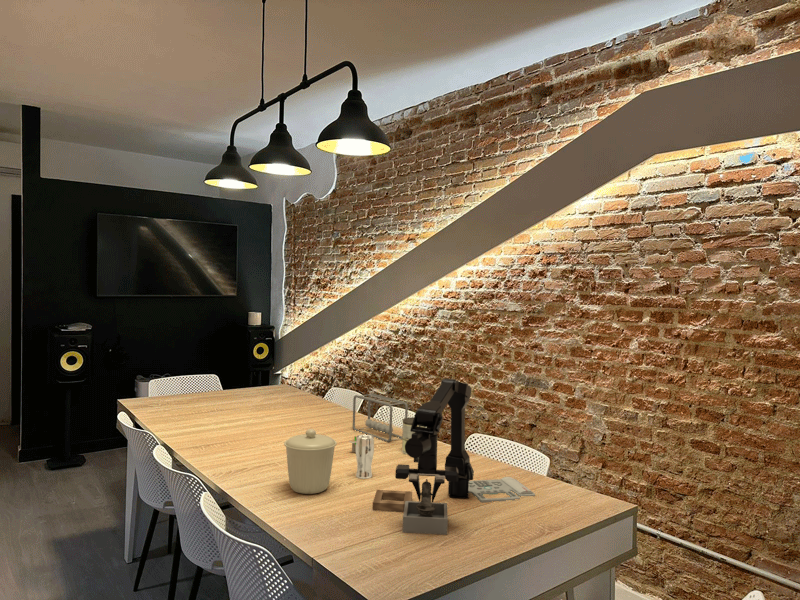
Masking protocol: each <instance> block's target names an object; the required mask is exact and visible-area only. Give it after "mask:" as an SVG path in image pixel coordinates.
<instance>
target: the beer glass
mask: <svg viewBox="0 0 800 600" xmlns="http://www.w3.org/2000/svg"><path fill="white" fill-rule="evenodd" d="M356 436H357V437H356V452H355V457H356V463H357V464H356V466H357V467H356V473H355V477H356V478H357V479H361V480H366V479H371V478H373V472H372V464H373V460H374V459H373V458H374V452H375V438H374V436H372V435H366V434H358V435H356Z"/></svg>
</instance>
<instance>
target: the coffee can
mask: <svg viewBox="0 0 800 600" xmlns="http://www.w3.org/2000/svg"><path fill="white" fill-rule="evenodd" d="M413 420H414V416H413V417H412V416H411V417H407V418H405V417H404V418H402V435H401V436H402V439H401V441H402V442H401V444H402V445H401V453H402V454H403V455H407V456H409V455H408V454H407V453H406V451H405V444H406V442H407V440H409V439H410V438H412V434H413V433H415V432H411V431H410V430H411V426H412V423H413ZM417 426H418V425H417ZM418 427H422V426H418ZM425 428H427V427H425Z"/></svg>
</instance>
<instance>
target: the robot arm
mask: <svg viewBox="0 0 800 600" xmlns="http://www.w3.org/2000/svg"><path fill="white" fill-rule="evenodd" d="M471 396H472V388H471V387H470V385H469V384H468V383H466V382H461V381H459V380H457V379H453V378H444V379H442V380H441V383H440V386H439V387H438V388H437V389H436V391H435V393H434V394H433V395H432V397H431V399H430V400H429V401H427V402H425V403H424V402H423V404H421V405H420V406H419V407H418V409H417V410H416V412H415V413H414V414H415V415H414V416H413V417H414V420H413V423H412V426H411V430H410V431H411V432H415V433H413V434H412V438H410V439H409V440H407V442H406V444H405V451H406V453H407V454H408V455H407V454H406V455H407V456H408V457H410V458H412V459H413V463H417V468H410V464H402V463H401V464H399V463H398V465H396V467H395V474H394V475H395V476H394V477H395V479H396V480H407V478H408V482H409V483H412V485H413V487H414V490H415V492H416V495H417V498H418V502H421V494H420V493H421V484H420V482H421V481H420V476H421V477H424V476H425V477H434V480H433V487H432V491H431V493H432V496H431V502H434V500H435V498H436V495H437V492H438V490H439V489H440V486H441V485H443V484H445V483H446V482H445V480H446V481H447V482H448V484H447V485H448V486H447V493H448V495H449V498H453V499H454V498H455V499H469V498H470V497H469V496H470V495H469V493H468V488H469V481H474V471H475V470H474V469H473V466H472V464H471V462H470V461H471V460H470V455H469V453H468V451H467V450H466V445H465V444H466V443H465V442H466V440H465V439H466V438H465V437H466V436H465V435H466V407H467V405H468V404H469V402H470V399H471ZM447 405H448V407H449V408H450V451H449V453H448V454H447V456H446V458H445V462H444V469H437V468H438V465H437V464H438V440H439V439H438V433H439V432H440V429H441V426H442V423H443V421H444V418H443V411H444V409H445V408H446V406H447ZM417 425H418V426H422V427H418V426H417ZM425 427H426V428H425Z"/></svg>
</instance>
